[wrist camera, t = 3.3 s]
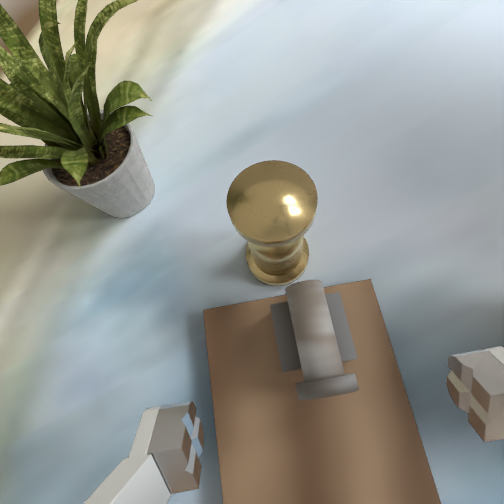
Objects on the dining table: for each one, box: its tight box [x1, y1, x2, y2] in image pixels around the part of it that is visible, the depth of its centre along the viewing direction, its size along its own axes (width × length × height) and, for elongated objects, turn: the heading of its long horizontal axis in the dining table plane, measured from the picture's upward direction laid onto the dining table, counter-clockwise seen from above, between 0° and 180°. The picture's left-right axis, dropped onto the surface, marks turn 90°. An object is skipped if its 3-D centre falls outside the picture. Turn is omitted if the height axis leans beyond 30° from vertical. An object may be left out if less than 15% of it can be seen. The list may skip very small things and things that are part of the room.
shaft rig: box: [203, 279, 441, 504], centre depth 17 cm, size 12×20×7 cm, turn 9°
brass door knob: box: [227, 160, 317, 286], centre depth 21 cm, size 5×5×9 cm
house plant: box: [0, 0, 155, 218], centre depth 22 cm, size 14×14×16 cm
